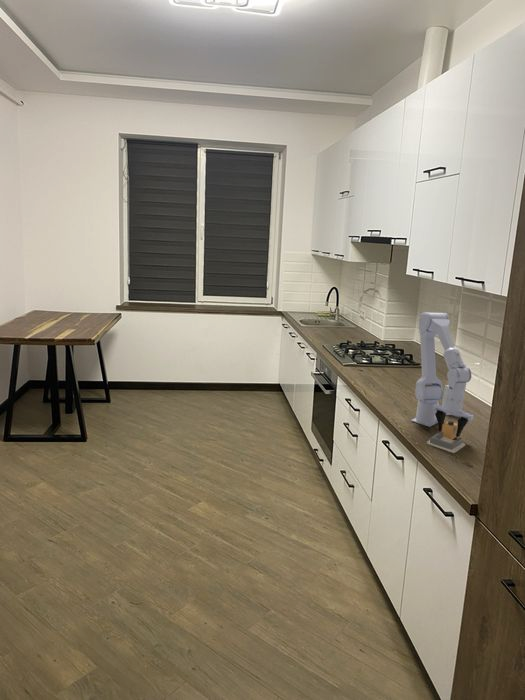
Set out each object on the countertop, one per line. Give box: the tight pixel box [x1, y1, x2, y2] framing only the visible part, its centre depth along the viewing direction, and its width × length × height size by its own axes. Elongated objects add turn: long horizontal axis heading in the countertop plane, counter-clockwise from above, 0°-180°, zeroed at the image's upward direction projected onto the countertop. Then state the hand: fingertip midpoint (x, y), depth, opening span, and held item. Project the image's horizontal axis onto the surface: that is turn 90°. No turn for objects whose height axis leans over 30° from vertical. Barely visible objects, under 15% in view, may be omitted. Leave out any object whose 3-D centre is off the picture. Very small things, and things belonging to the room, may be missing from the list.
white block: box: [441, 384, 451, 416], centre depth 218 cm, size 6×4×12 cm
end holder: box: [426, 431, 466, 454], centre depth 183 cm, size 10×10×3 cm
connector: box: [441, 420, 458, 440], centre depth 192 cm, size 7×4×6 cm, turn 138°
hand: (449, 433), depth 191 cm, fingers open, 6 cm apart
